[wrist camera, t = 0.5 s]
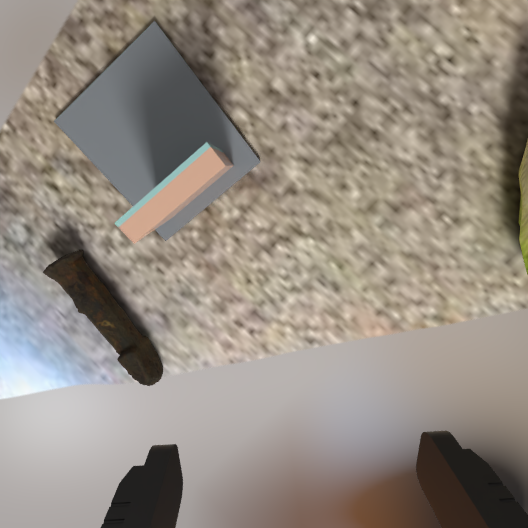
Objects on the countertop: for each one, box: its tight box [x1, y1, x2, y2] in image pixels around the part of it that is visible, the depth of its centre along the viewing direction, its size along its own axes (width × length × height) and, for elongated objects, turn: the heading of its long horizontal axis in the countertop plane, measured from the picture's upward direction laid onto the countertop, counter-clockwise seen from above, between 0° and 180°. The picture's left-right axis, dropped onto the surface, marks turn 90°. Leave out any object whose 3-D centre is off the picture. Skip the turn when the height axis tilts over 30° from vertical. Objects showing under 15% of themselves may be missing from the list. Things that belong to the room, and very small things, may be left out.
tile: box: [115, 142, 234, 244], centre depth 28 cm, size 9×2×12 cm, turn 128°
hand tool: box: [43, 250, 163, 386], centre depth 37 cm, size 19×4×5 cm, turn 27°
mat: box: [54, 21, 260, 241], centre depth 32 cm, size 14×16×1 cm
